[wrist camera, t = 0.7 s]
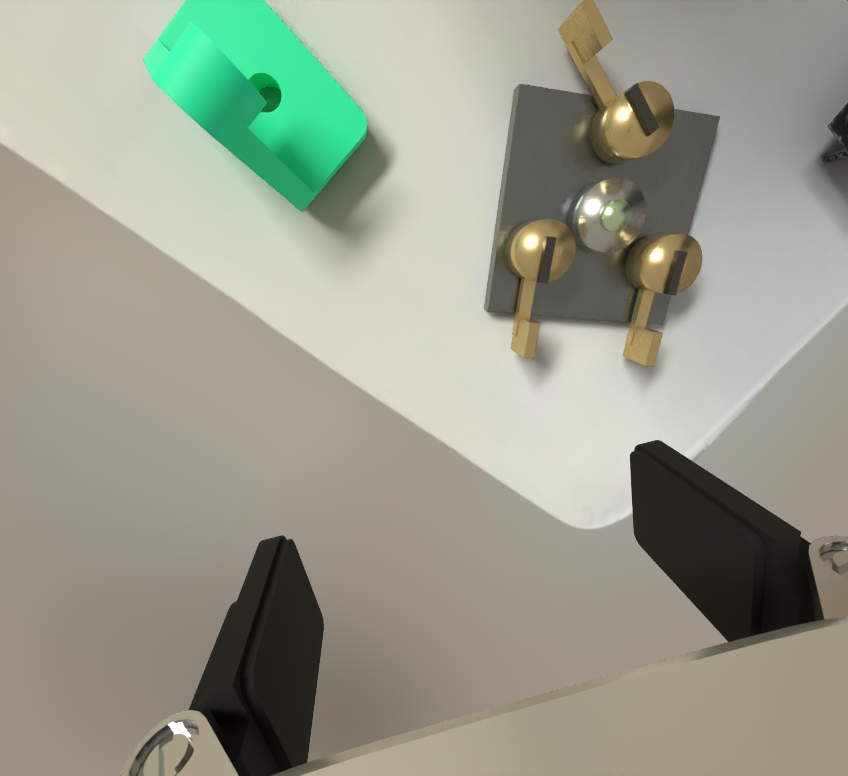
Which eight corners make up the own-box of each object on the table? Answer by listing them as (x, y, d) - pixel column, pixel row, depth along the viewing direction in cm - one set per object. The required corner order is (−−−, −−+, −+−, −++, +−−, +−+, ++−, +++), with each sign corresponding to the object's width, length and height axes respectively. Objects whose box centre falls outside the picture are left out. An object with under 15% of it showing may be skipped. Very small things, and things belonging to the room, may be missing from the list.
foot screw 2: (656, 136, 31) (690, 124, 28) (609, 177, 32) (636, 169, 29) (588, 1, 28) (617, -31, 25) (536, 48, 29) (558, 23, 25)
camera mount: (373, 133, 30) (374, 81, 21) (305, 212, 32) (276, 198, 22) (234, -21, 27) (157, -171, 17) (163, 75, 28) (53, -14, 18)
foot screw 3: (632, 232, 34) (661, 230, 30) (681, 237, 34) (714, 237, 31) (603, 354, 37) (626, 365, 33) (649, 357, 37) (675, 368, 34)
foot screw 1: (509, 218, 32) (525, 215, 29) (562, 224, 33) (584, 222, 29) (490, 347, 35) (502, 357, 32) (539, 350, 36) (556, 361, 33)
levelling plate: (514, 89, 31) (533, 69, 27) (707, 120, 33) (749, 105, 29) (484, 308, 36) (496, 316, 32) (653, 322, 38) (683, 330, 34)
